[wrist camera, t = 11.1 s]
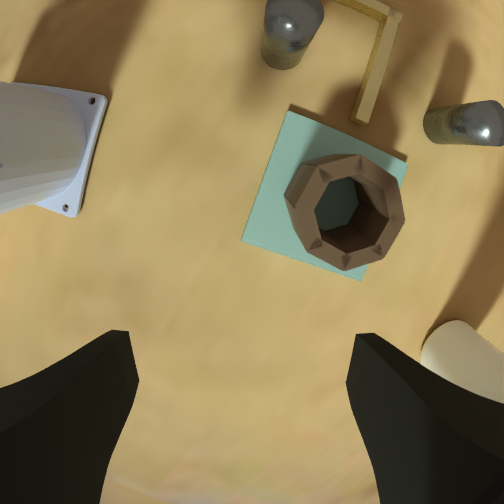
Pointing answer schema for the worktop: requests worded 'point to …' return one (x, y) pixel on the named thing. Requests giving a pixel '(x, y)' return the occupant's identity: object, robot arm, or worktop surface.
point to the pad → (332, 200)
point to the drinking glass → (465, 359)
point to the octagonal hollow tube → (363, 219)
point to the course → (374, 69)
